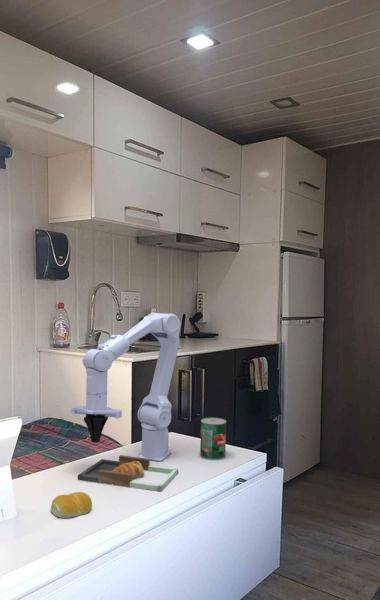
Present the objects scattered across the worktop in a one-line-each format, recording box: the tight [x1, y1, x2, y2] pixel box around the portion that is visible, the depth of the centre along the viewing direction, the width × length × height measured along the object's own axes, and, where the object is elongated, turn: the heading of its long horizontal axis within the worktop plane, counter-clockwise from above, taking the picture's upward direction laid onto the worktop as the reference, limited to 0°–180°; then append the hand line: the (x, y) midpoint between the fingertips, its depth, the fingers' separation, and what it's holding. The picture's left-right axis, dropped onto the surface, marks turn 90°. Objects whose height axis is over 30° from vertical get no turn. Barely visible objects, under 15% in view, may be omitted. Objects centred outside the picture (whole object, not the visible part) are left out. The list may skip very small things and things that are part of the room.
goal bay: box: [129, 464, 179, 492], centre depth 132 cm, size 14×8×1 cm, turn 163°
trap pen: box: [77, 458, 119, 484], centre depth 137 cm, size 14×6×1 cm, turn 163°
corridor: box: [97, 455, 151, 488], centre depth 135 cm, size 14×9×3 cm, turn 163°
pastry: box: [112, 461, 145, 480], centre depth 134 cm, size 9×7×4 cm
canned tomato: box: [199, 417, 227, 461], centre depth 154 cm, size 8×8×11 cm
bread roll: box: [50, 491, 93, 519], centre depth 113 cm, size 8×9×4 cm
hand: (95, 441), depth 137 cm, fingers closed
